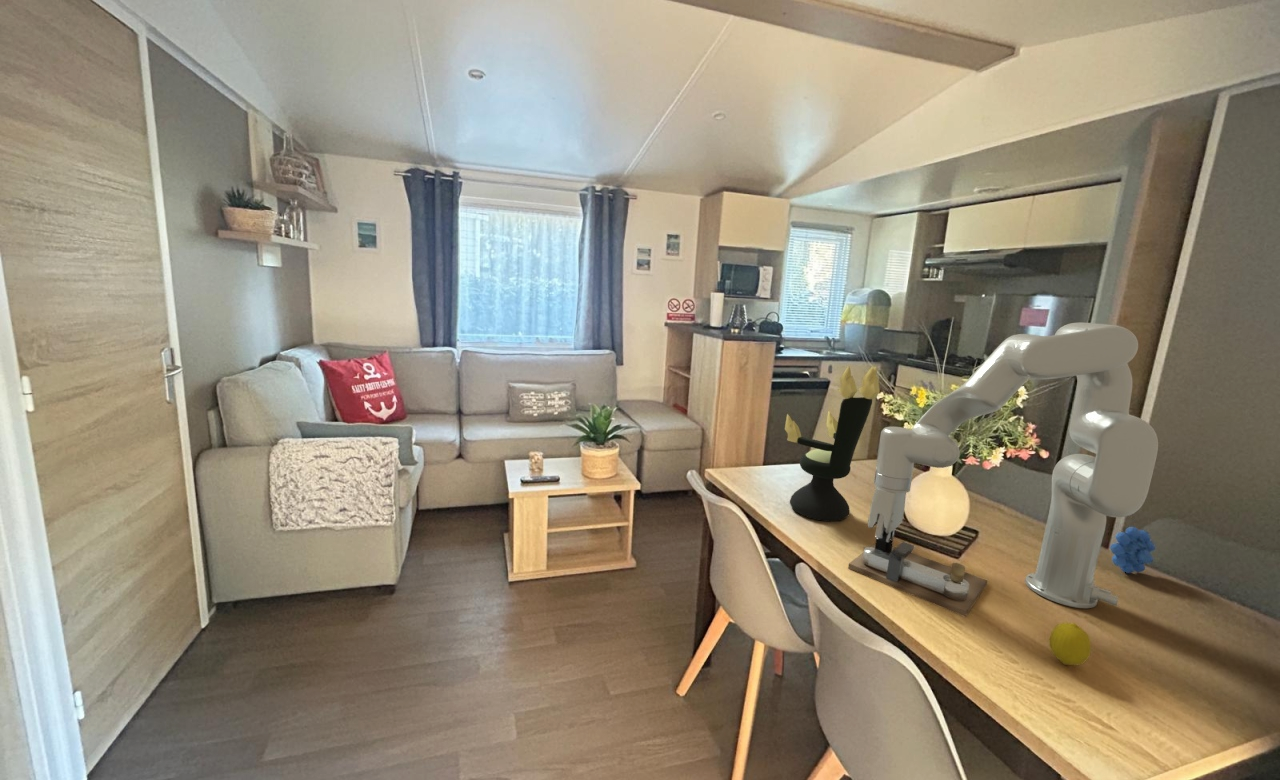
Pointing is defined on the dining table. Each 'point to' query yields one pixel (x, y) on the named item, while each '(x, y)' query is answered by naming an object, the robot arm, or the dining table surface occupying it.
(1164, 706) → the dining table surface
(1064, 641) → the lemon
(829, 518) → the black toy throne
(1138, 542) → the grapes
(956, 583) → the bolt
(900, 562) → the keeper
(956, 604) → the base board
